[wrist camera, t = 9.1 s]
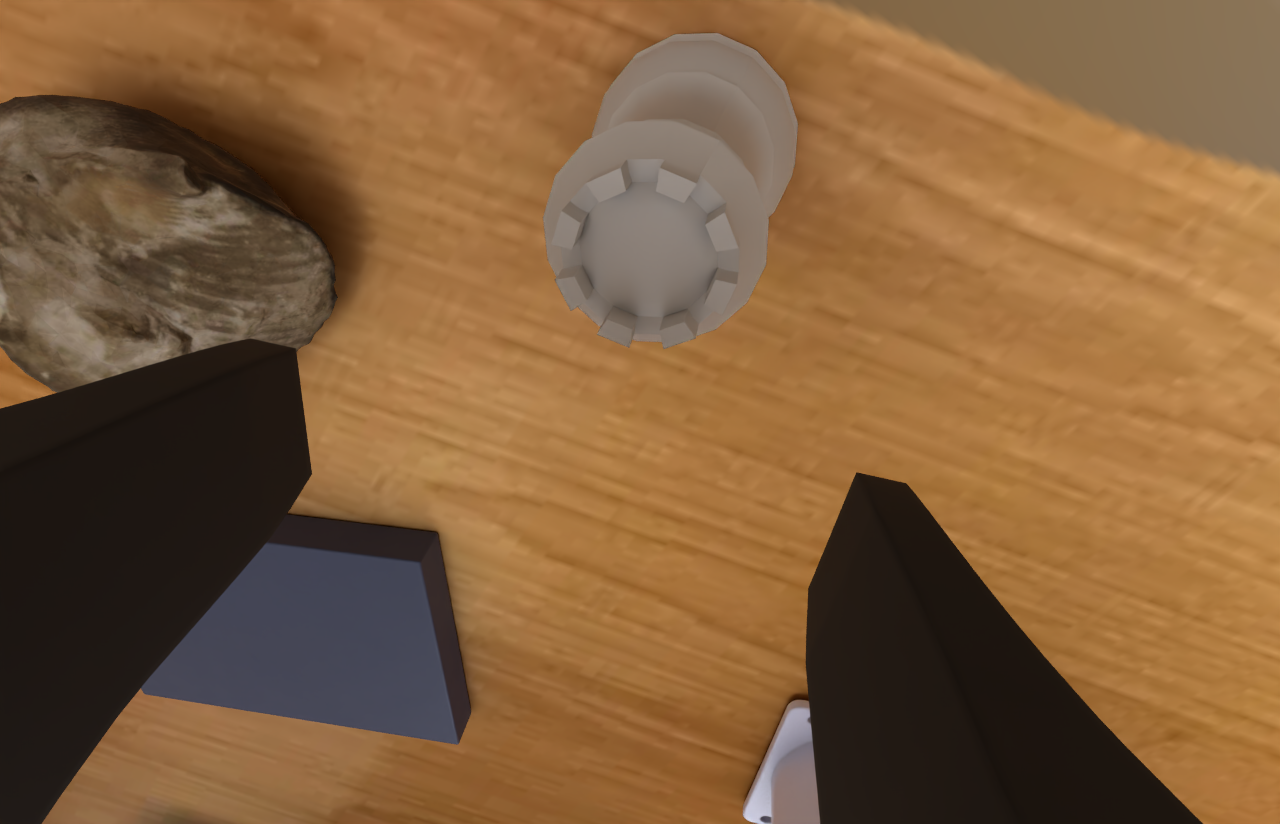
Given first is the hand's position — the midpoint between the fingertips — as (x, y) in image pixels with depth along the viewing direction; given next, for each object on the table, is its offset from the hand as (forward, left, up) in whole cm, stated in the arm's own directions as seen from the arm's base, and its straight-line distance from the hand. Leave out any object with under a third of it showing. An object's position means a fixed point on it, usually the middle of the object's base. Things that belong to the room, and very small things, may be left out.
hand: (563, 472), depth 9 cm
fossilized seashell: (+13, +3, -10) cm, 17 cm away
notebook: (+12, +18, -10) cm, 24 cm away
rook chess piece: (0, -2, -10) cm, 10 cm away
